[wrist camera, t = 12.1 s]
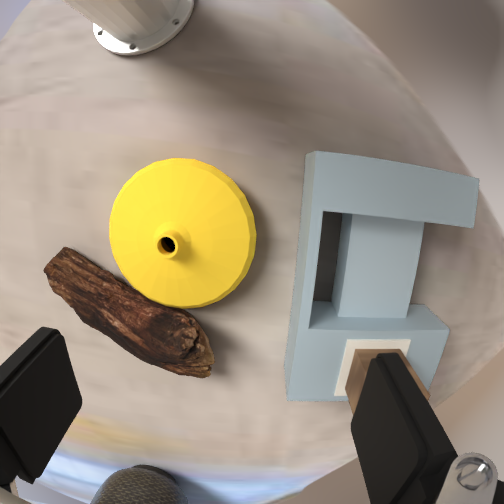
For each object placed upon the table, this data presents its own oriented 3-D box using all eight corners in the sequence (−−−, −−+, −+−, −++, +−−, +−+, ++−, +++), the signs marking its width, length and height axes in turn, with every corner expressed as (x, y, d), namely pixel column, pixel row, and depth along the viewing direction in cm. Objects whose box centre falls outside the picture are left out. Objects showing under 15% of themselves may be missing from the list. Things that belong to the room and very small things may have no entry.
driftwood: (234, 313, 37) (226, 349, 29) (211, 365, 39) (200, 406, 31) (69, 240, 36) (30, 257, 28) (59, 295, 38) (25, 318, 30)
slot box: (305, 154, 32) (316, 150, 25) (445, 175, 32) (481, 178, 25) (284, 365, 38) (287, 402, 31) (406, 364, 38) (427, 396, 31)
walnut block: (355, 348, 29) (377, 399, 22) (399, 348, 29) (430, 395, 22) (344, 388, 31) (361, 441, 23) (387, 387, 31) (410, 436, 23)
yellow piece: (192, 323, 38) (178, 354, 31) (97, 233, 35) (65, 247, 29) (288, 229, 34) (293, 244, 28) (181, 129, 32) (160, 119, 25)
